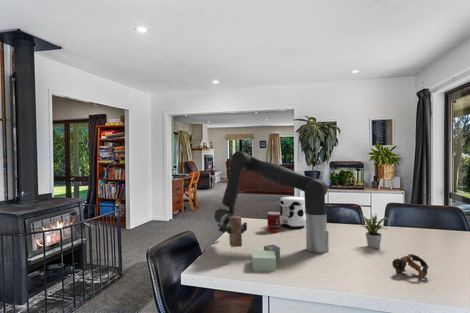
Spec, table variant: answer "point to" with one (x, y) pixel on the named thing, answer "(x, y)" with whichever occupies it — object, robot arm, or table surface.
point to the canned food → (273, 222)
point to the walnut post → (235, 231)
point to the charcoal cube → (273, 248)
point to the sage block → (264, 260)
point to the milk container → (292, 212)
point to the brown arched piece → (402, 265)
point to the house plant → (373, 232)
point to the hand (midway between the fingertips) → (236, 231)
